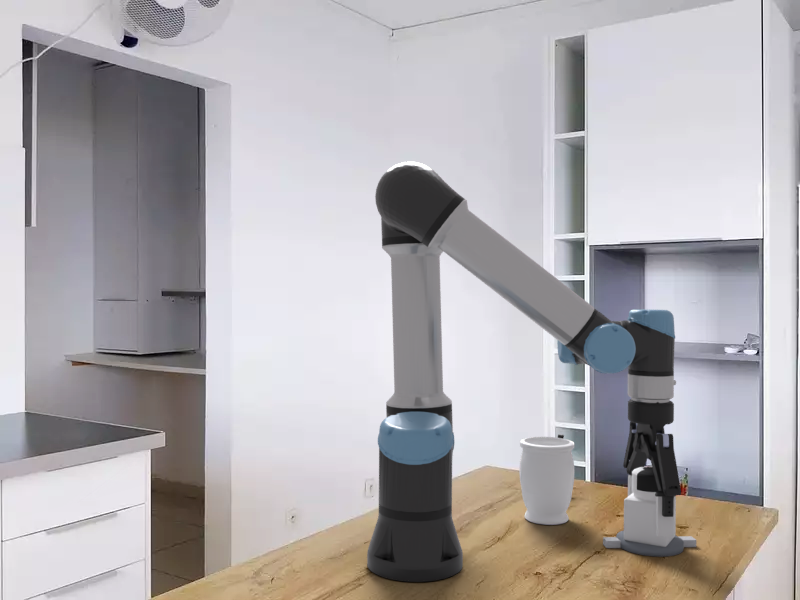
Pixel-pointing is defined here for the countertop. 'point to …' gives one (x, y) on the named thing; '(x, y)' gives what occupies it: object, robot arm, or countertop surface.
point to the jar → (546, 478)
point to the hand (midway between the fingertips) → (649, 522)
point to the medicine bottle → (643, 510)
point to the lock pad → (650, 550)
